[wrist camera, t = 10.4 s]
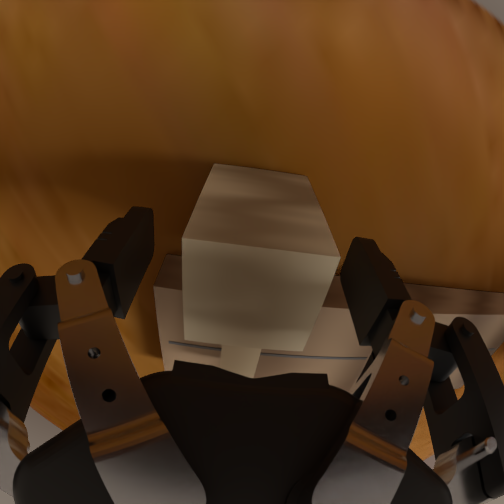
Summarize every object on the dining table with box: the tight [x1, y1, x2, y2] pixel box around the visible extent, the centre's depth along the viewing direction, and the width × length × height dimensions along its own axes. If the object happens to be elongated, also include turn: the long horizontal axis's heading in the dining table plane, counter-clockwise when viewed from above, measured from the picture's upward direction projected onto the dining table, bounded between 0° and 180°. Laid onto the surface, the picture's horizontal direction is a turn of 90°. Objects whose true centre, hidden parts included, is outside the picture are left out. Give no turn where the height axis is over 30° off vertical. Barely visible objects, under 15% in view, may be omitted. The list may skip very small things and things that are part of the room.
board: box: [153, 254, 504, 392], centre depth 17 cm, size 26×10×2 cm, turn 82°
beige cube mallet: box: [182, 164, 341, 378], centre depth 12 cm, size 4×10×6 cm, turn 172°
